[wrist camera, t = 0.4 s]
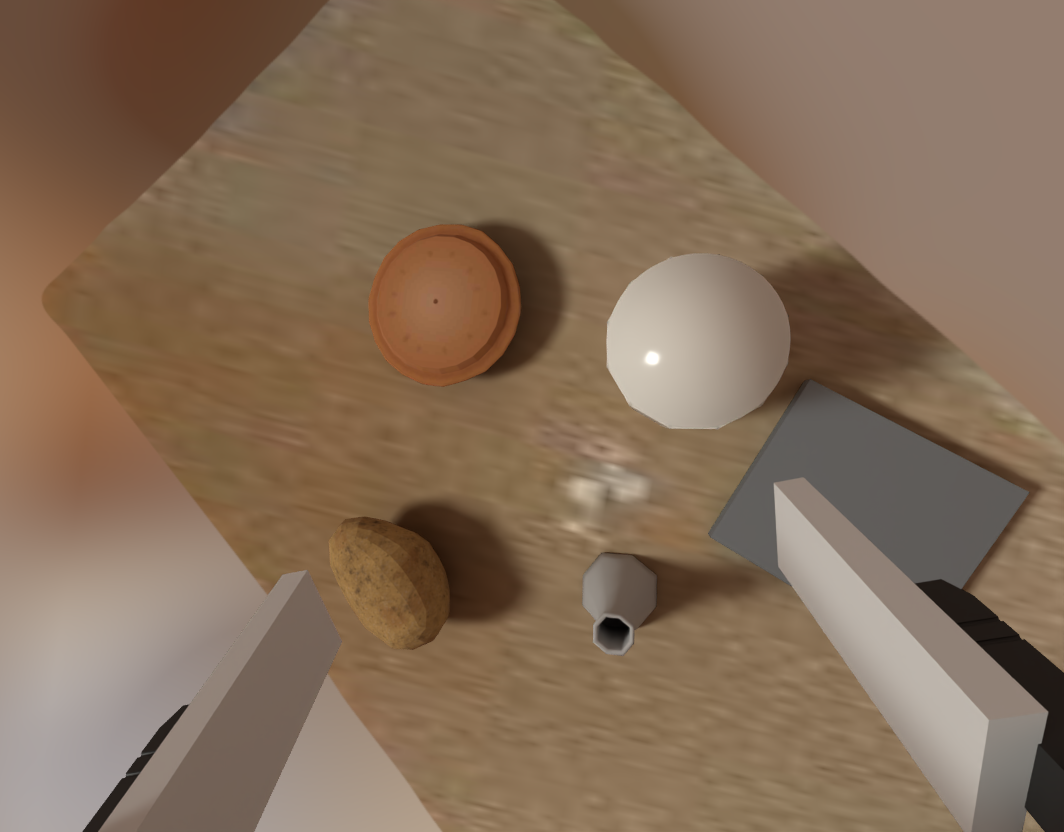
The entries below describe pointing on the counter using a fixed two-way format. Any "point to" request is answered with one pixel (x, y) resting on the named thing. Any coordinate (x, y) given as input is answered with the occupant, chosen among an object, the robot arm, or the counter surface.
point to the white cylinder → (698, 341)
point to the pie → (444, 304)
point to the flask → (618, 599)
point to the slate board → (871, 490)
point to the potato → (391, 581)
